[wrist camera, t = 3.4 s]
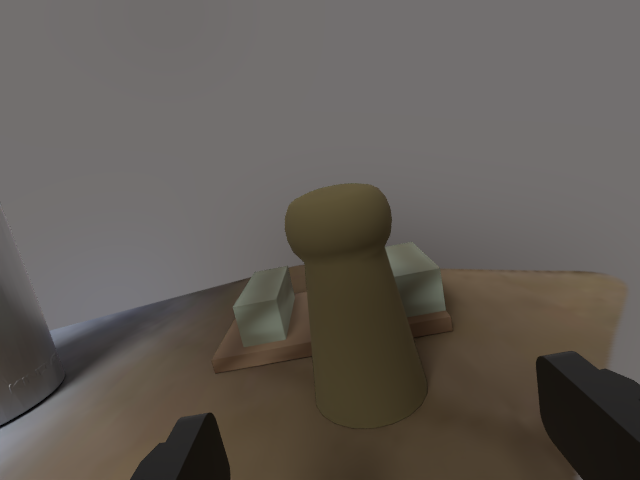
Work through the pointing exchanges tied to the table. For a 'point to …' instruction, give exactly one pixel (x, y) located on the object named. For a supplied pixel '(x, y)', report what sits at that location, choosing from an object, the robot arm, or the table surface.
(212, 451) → the robot arm
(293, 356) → the endcap cradle
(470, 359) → the table surface
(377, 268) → the cork
